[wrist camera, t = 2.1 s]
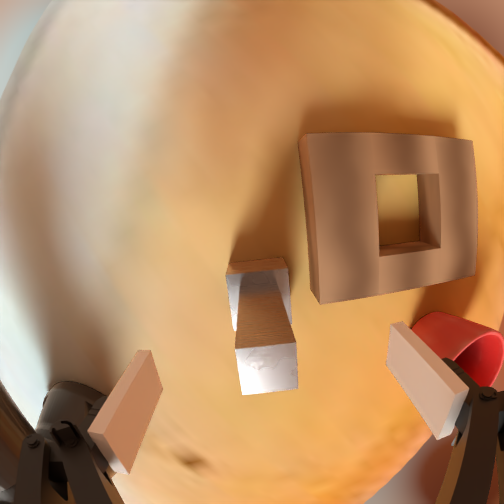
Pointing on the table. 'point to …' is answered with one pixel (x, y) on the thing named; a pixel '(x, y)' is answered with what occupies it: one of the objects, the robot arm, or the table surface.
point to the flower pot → (463, 344)
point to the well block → (366, 212)
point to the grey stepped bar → (262, 325)
